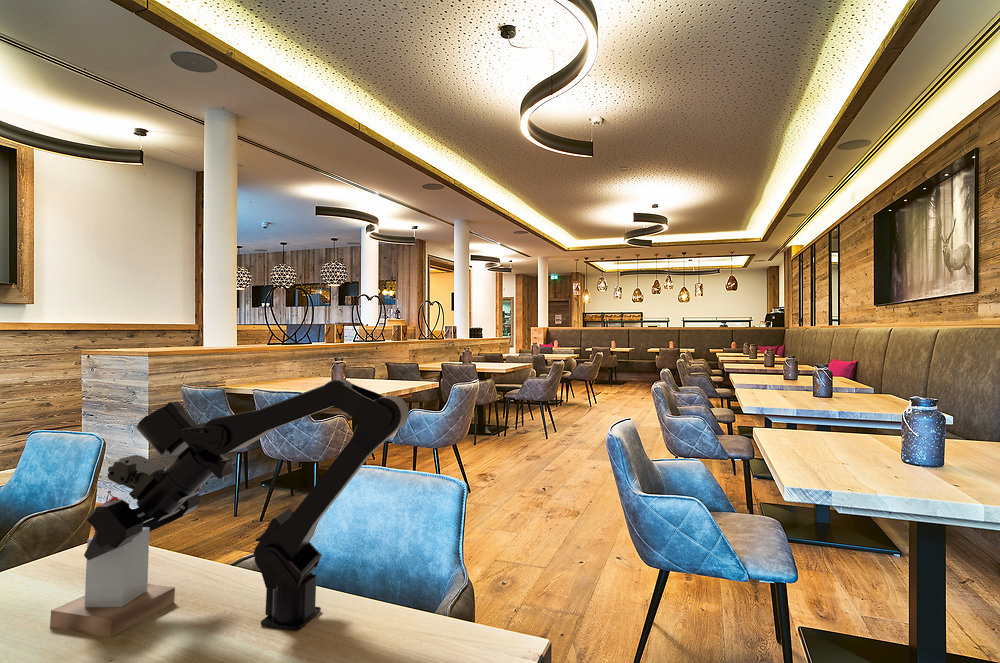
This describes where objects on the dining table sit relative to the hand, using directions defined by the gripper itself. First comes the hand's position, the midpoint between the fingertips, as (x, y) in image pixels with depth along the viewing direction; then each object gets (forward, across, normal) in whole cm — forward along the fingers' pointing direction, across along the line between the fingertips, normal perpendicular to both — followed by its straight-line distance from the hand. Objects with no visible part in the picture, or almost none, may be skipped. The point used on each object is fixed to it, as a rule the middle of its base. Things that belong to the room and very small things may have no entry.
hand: (110, 546), depth 81 cm
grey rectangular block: (+4, 0, +7) cm, 8 cm away
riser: (+7, 0, +9) cm, 11 cm away
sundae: (+16, -17, -2) cm, 23 cm away
